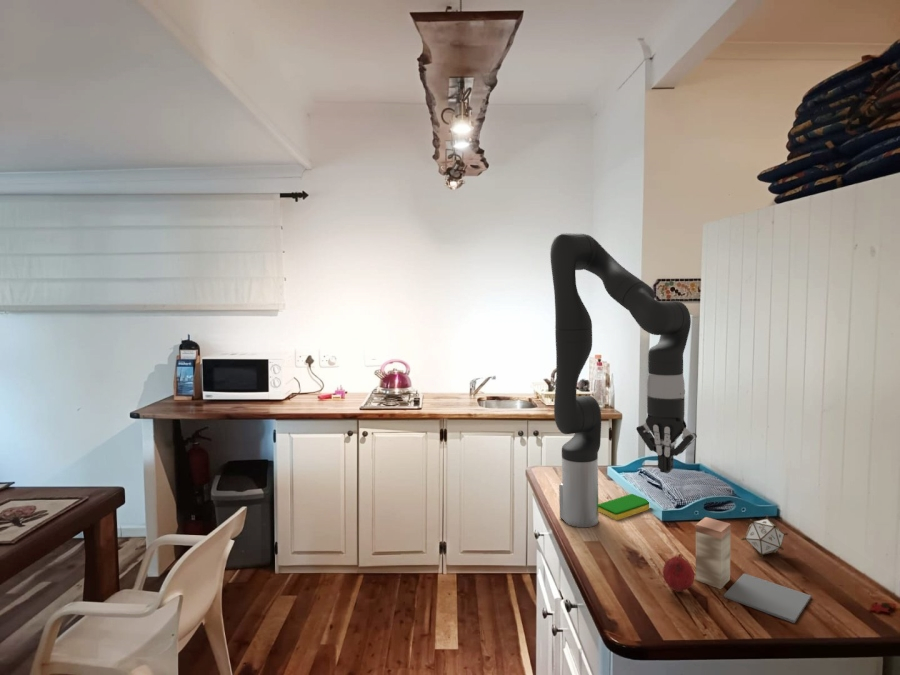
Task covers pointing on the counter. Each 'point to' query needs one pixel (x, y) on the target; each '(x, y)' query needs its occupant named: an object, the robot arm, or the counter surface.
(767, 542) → the game die
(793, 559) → the counter surface
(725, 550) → the beech block
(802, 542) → the counter surface
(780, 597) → the mat
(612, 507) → the dish sponge
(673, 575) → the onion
